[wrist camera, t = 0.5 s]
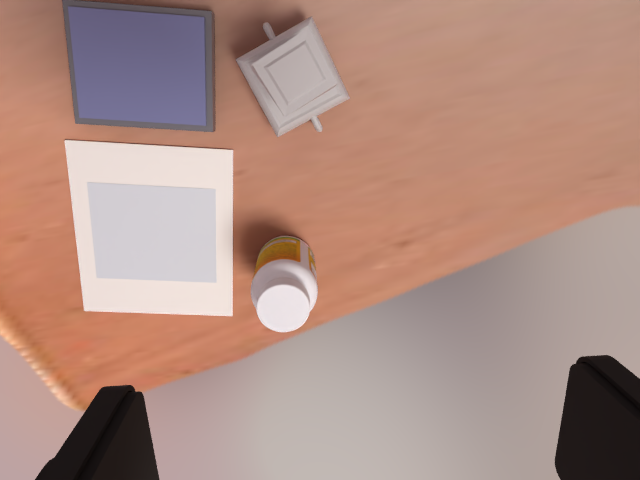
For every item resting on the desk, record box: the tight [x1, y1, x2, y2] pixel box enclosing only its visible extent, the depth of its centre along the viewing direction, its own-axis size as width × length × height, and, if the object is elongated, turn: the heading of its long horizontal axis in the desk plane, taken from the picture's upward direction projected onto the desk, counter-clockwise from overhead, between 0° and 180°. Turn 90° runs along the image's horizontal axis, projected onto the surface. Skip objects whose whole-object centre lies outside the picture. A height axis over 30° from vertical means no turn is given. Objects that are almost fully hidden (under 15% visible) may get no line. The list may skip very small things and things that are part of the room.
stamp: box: [236, 16, 350, 137], centre depth 32 cm, size 9×7×8 cm
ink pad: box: [62, 0, 215, 132], centre depth 35 cm, size 9×11×2 cm
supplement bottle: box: [251, 236, 318, 332], centre depth 37 cm, size 5×5×10 cm
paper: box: [65, 140, 233, 316], centre depth 40 cm, size 16×14×1 cm
